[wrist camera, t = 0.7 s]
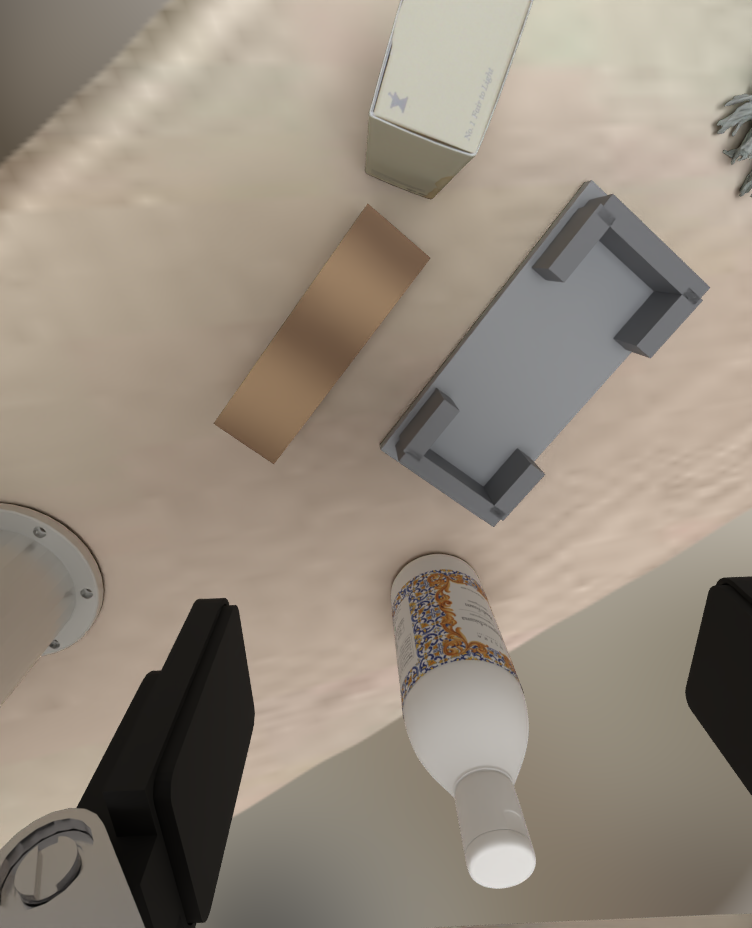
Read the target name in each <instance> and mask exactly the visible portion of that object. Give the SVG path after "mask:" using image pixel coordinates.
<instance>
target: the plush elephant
mask: <svg viewBox="0 0 752 928" xmlns="http://www.w3.org/2000/svg"><path fill="white" fill-rule="evenodd" d="M745 100H749V103H745V104H744V105H742V106H740V107H738V108H737V109H736V111H735V112H734V113H733V114H731V115H729V116H728V117H726V118H724V119H722V120H719V122H718V123H717V126H718V125H722V128H721V129H720V130H718V132H717V133H718V134H722V133H724V132H725V131H726V130H727V129H728V128H729V127H733V126H735V125H736V124H737V123H738V125H737V127H736V129H735V131H734V132H733V133H732V136H735V134H736V133H737V131H738V129H739V128H740V126H741V125H742V124H743V123H744V122H746V121H748V120H750V119H752V95H748V94H742V95H738V96H734V97H733V99H732V100H730V101H729V102H727V103H726V104H725V105H724V106H730V105H733V104H737V103H741V102H743V101H745ZM723 153H724V154H726V155H728V156H729V157H731V158H733V157H734V158H733V159H732V161H731V164H734V163H735V160H736V159H737V157H738V156H740V155H742V156H743V157H742V159H738V161H741V160H745V159H746V158H749V160H750V159H751V158H752V127H751V129H750V130H749V132H748V133H747V135H746V136H745V138H744V140H743V142H742V144H741V145H740V147H739V148H738V149H732V150H730V151H726V150H723ZM751 188H752V171H751V173H750V174H749V175H748V176H747V178H746V180H745V182H744V184H743V186H742V187H741V189H740V192H741V194H740V195H739V196H740V197H741V196H743V195H744V194H745V193H748V192H749V191H750V190H751ZM750 197H752V194H751V196H750Z"/></svg>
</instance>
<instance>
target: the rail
mask: <svg viewBox="0 0 752 928" xmlns="http://www.w3.org/2000/svg"><path fill="white" fill-rule="evenodd" d="M709 288H710V287H709V286H708V285H707V284H706V283H705V282H704V281H703V280H702V279H701V278H700V277H699V276H698V275H697V274H696V273H695V272H694V271H693V270H692V269H690V268H689V267H688V266H687V265H686V264H685V263H684V262H683V261H682V260H681V259H680V258H679V257H678V256H677V255H676V254H675V253H674V252H673V251H672V250H671V249H670V248H669V247H668V246H667V245H666V244H665V243H664V242H662V241H661V240H660V239H659V238H658V237H657V236H656V235H655V234H654V233H653V232H652V231H651V230H650V229H649V228H648V227H647V226H646V225H645V224H644V223H643V222H642V221H641V220H640V219H639V218H638V217H637V216H636V215H634V214H633V213H632V212H631V211H630V210H629V209H628V208H627V207H626V206H625V205H624V204H623V203H622V202H621V201H620V200H619V199H618V198H617V197H616V196H615V195H614V194H610V195H607V194H606V193H605V192H604V191H603V190H602V189H600V188H599V187H598V186H597V185H596V184H595V183H594V182H593V181H592V180H591V181H587V182H585V183H584V184H583V185H582V186H581V188H580V189H579V190H578V192H577V193H576V194H575V195H574V197H573V198H572V199H571V201H570V202H569V203H568V204H567V206H566V207H565V208H564V210H563V211H562V212H561V213H560V215H559V216H558V217H557V219H556V220H555V221H554V222H553V224H552V225H551V226H550V228H549V229H548V230H547V231H546V233H545V234H544V235H543V236H542V238H541V239H540V240H539V242H538V243H537V244H536V245H535V247H534V248H533V249H532V251H531V252H530V253H529V254H528V256H527V257H526V258H525V260H524V261H523V262H522V263H521V265H520V266H519V267H518V269H517V270H516V271H515V272H514V274H513V275H512V276H511V278H510V279H509V280H508V281H507V283H506V284H505V285H504V287H503V288H502V289H501V290H500V292H499V293H498V294H497V296H496V297H495V298H494V299H493V301H492V302H491V303H490V305H489V306H488V307H487V308H486V310H485V311H484V312H483V314H482V315H481V316H480V317H479V319H478V320H477V321H476V322H475V324H474V325H473V326H472V328H471V329H470V330H469V331H468V333H467V334H466V335H465V337H464V338H463V339H462V340H461V342H460V343H459V344H458V346H457V347H456V348H455V349H454V351H453V352H452V353H451V355H450V356H449V357H448V358H447V360H446V361H445V362H444V364H443V365H442V366H441V367H440V369H439V370H438V371H437V373H436V374H435V375H434V376H433V378H432V379H431V380H430V382H429V383H428V384H427V385H426V387H425V388H424V389H423V391H422V392H421V393H420V394H419V396H418V397H417V398H416V400H415V401H414V402H413V403H412V405H411V406H410V407H409V409H408V410H407V411H406V412H405V414H404V415H403V416H402V417H401V419H400V420H399V421H398V423H397V424H396V425H395V426H394V428H393V429H392V430H391V432H390V433H389V434H388V435H387V437H386V438H385V439H384V441H383V442H382V443H381V444H380V448H381V450H382V451H383V452H385V453H386V454H388V455H389V456H390V457H392V458H393V459H395V460H396V461H398V462H399V463H401V464H402V465H403V466H405V467H406V468H408V469H409V470H411V471H412V472H414V473H415V474H417V475H418V476H419V477H421V478H422V479H424V480H425V481H427V482H428V483H430V484H431V485H433V486H434V487H435V488H437V489H438V490H440V491H441V492H443V493H444V494H446V495H447V496H449V497H450V498H451V499H453V500H454V501H456V502H457V503H459V504H460V505H462V506H463V507H465V508H466V509H467V510H469V511H470V512H472V513H473V514H475V515H476V516H478V517H479V518H481V519H483V520H484V521H485V522H487V523H488V524H490V525H491V526H493V527H494V526H495V525H496V524H497V523H498V522H499V521H500V520H504V519H505V518H506V517H507V516H508V515H509V514H510V513H511V512H512V511H513V509H514V508H515V507H516V506H517V505H518V504H519V503H520V502H521V501H522V499H523V498H524V497H525V496H526V495H527V494H528V493H529V492H530V491H531V490H532V488H533V487H534V486H535V485H536V484H537V483H538V482H539V481H540V480H541V479H542V477H543V476H544V475H545V474H544V473H543V471H542V470H541V469H540V468H539V467H538V466H537V465H536V464H535V462H534V461H535V460H536V459H537V458H538V457H539V455H540V454H541V453H542V452H543V451H544V450H545V449H546V448H547V446H548V445H549V444H550V443H551V442H552V441H553V440H554V439H555V438H556V436H557V435H558V434H559V433H560V432H561V431H562V430H563V429H564V427H565V426H566V425H567V424H568V423H569V422H570V421H571V420H572V418H573V417H574V416H575V415H576V414H577V413H578V412H579V411H580V409H581V408H582V407H583V406H584V405H585V404H586V403H587V402H588V400H589V399H590V398H591V397H592V396H593V395H594V394H595V393H596V391H597V390H598V389H599V388H600V387H601V386H602V385H603V384H604V383H605V381H606V380H607V379H608V378H609V377H610V376H611V375H612V374H613V372H614V371H615V370H616V369H617V368H618V367H619V366H620V365H621V363H622V362H623V361H624V360H625V359H626V358H627V357H628V356H629V354H630V353H631V352H634V353H637V354H640V355H643V356H646V357H649V358H651V357H652V356H653V355H654V354H655V353H656V352H657V351H658V349H659V348H660V347H661V346H662V345H663V344H664V343H665V342H666V341H667V339H668V338H669V337H670V336H671V335H672V334H673V333H674V332H675V331H676V330H677V328H678V327H679V326H680V325H681V324H682V323H683V322H684V321H685V320H686V319H687V317H688V316H689V315H690V314H691V313H692V312H693V311H694V310H695V309H696V307H697V306H698V305H699V304H700V303H701V302H702V301H703V300H702V299H701V297H702V296H703V295H704V294H705V293H706V292H707V291H708V289H709Z"/></svg>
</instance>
